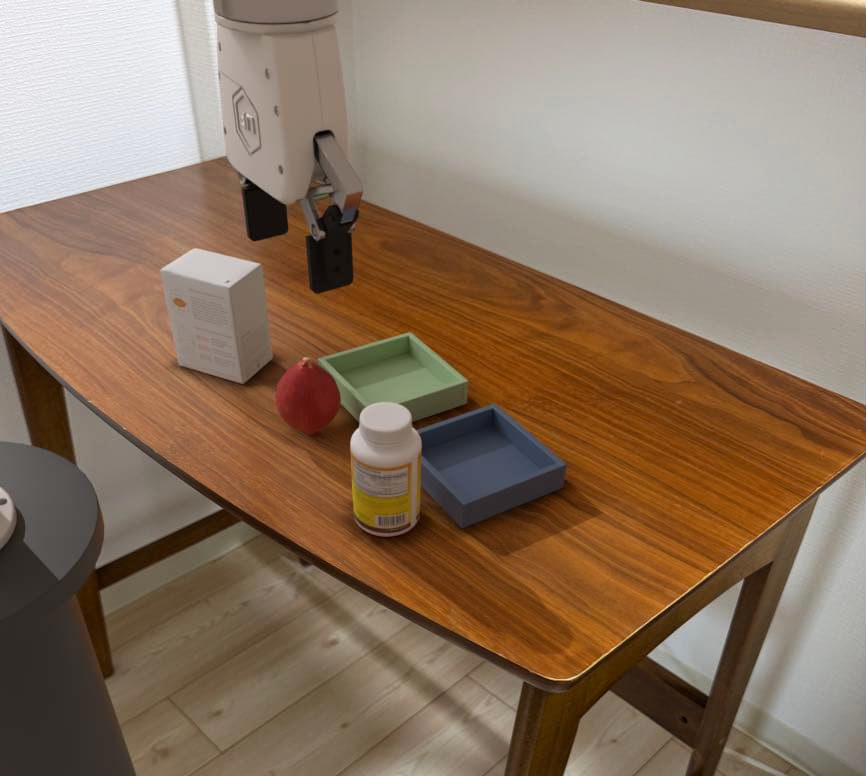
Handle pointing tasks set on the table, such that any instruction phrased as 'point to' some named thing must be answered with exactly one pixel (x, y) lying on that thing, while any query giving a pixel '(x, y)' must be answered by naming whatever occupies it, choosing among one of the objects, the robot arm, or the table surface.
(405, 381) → the green tray
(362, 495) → the supplement bottle
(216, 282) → the small box
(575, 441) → the table surface
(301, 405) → the onion
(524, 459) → the slate tray
